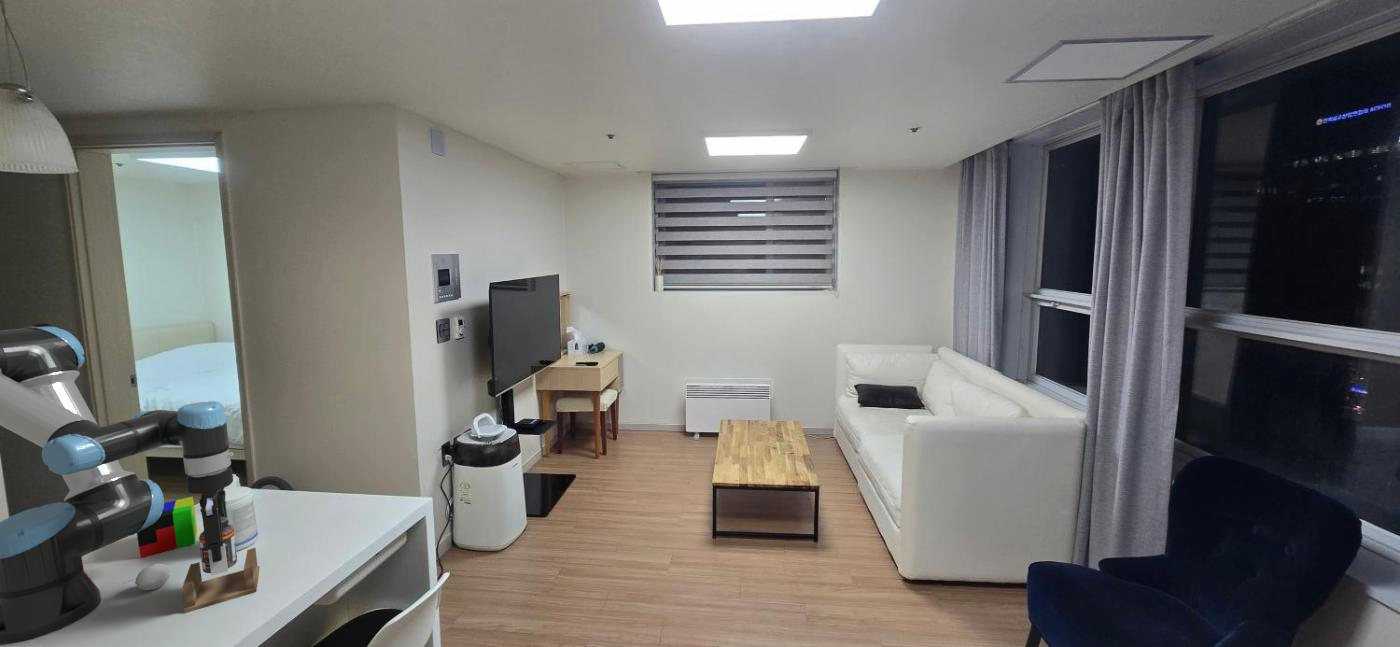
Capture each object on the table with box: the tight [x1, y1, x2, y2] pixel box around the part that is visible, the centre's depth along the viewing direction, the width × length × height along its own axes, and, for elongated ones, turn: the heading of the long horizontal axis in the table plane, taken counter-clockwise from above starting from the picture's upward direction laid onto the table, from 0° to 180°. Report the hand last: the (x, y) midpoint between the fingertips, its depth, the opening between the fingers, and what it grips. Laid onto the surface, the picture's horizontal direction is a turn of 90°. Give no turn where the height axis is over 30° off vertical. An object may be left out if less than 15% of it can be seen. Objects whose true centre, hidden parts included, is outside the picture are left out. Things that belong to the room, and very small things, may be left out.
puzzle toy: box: [136, 496, 198, 559], centre depth 138 cm, size 10×10×10 cm
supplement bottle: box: [198, 517, 238, 574], centre depth 118 cm, size 6×6×11 cm
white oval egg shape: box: [124, 563, 171, 591], centre depth 120 cm, size 8×6×6 cm
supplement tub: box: [224, 486, 259, 552], centre depth 137 cm, size 10×10×15 cm
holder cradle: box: [182, 547, 261, 614], centre depth 120 cm, size 12×11×6 cm
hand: (221, 565), depth 119 cm, fingers closed on supplement bottle, 6 cm apart
